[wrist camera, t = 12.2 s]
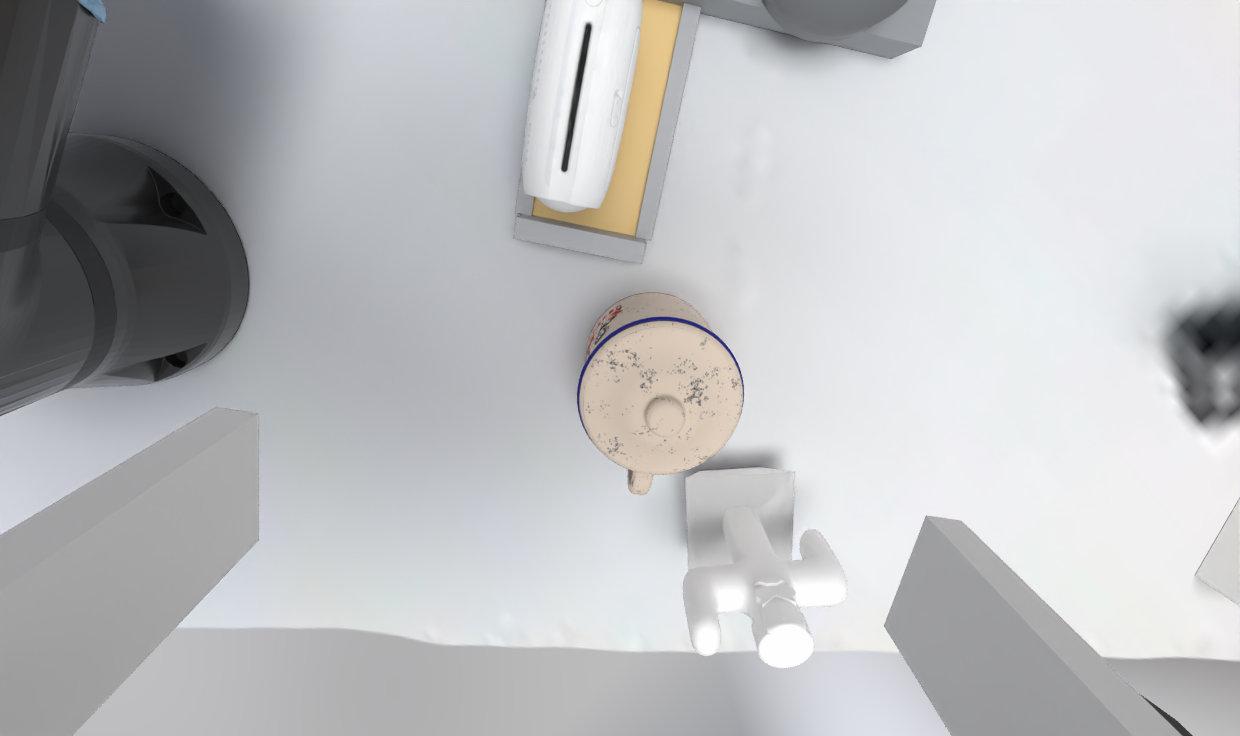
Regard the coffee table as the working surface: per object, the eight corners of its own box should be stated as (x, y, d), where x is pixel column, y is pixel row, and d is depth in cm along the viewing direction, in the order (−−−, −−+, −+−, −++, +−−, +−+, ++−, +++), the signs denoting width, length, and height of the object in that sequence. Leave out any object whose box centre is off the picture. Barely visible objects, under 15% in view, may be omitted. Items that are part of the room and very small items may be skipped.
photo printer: (567, 11, 34) (545, -76, 22) (641, 30, 34) (659, -47, 22) (536, 197, 37) (503, 207, 25) (604, 212, 37) (604, 229, 25)
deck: (455, 218, 38) (425, 226, 31) (503, -190, 31) (477, -282, 25) (819, 292, 40) (859, 314, 33) (933, -79, 33) (1009, -137, 27)
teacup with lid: (592, 278, 39) (586, 319, 28) (729, 298, 40) (776, 346, 28) (570, 444, 43) (557, 539, 32) (695, 460, 43) (725, 559, 32)
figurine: (791, 533, 45) (877, 699, 31) (667, 541, 45) (695, 710, 31) (794, 446, 43) (888, 581, 29) (663, 455, 43) (691, 594, 29)
